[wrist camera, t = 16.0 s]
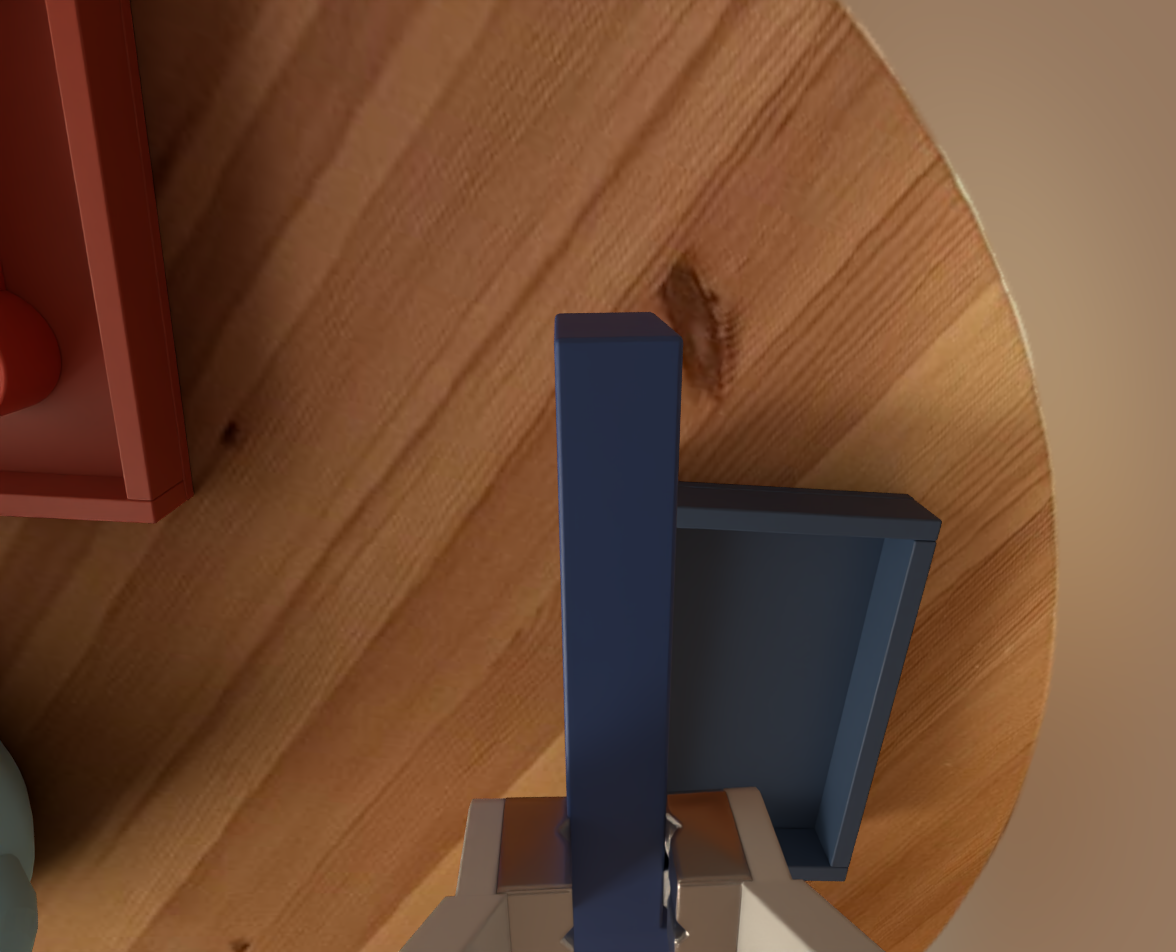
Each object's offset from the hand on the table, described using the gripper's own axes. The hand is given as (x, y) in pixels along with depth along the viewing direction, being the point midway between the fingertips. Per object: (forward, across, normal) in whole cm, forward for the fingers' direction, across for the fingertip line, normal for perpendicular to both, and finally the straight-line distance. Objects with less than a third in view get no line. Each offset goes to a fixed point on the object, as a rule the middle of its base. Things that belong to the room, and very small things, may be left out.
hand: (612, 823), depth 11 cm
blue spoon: (+2, 0, -1) cm, 2 cm away
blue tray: (+15, -6, +9) cm, 19 cm away
